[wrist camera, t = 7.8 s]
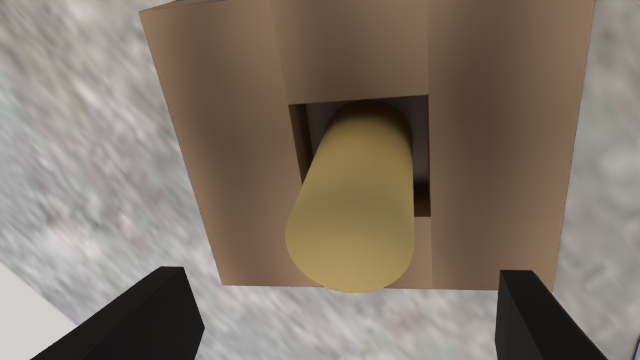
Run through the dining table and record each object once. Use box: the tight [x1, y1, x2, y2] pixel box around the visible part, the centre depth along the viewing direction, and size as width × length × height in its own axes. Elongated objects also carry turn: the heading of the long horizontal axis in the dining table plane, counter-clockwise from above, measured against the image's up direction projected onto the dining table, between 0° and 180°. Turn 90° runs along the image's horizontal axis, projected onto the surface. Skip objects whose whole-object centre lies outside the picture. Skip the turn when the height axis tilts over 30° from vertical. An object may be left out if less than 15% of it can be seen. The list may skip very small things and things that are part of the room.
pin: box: [285, 99, 414, 293], centre depth 15 cm, size 4×4×7 cm
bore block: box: [139, 0, 595, 291], centre depth 17 cm, size 14×12×3 cm
